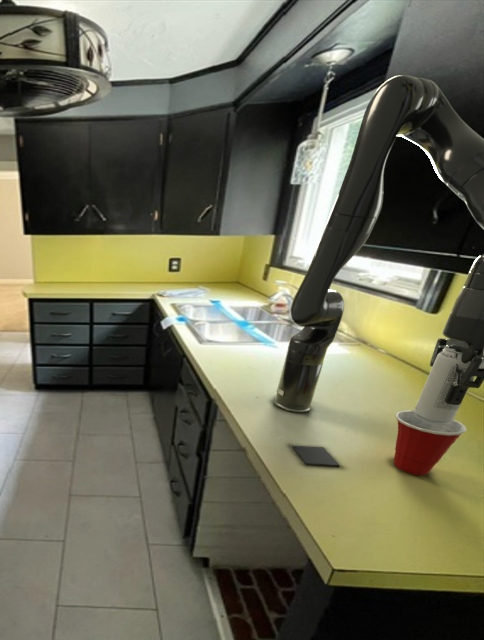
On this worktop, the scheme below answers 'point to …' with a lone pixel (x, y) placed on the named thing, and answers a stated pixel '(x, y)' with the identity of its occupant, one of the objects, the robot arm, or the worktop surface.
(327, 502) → the worktop surface
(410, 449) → the plastic cup
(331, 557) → the worktop surface
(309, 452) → the coaster
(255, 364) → the worktop surface
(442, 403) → the energy drink can
